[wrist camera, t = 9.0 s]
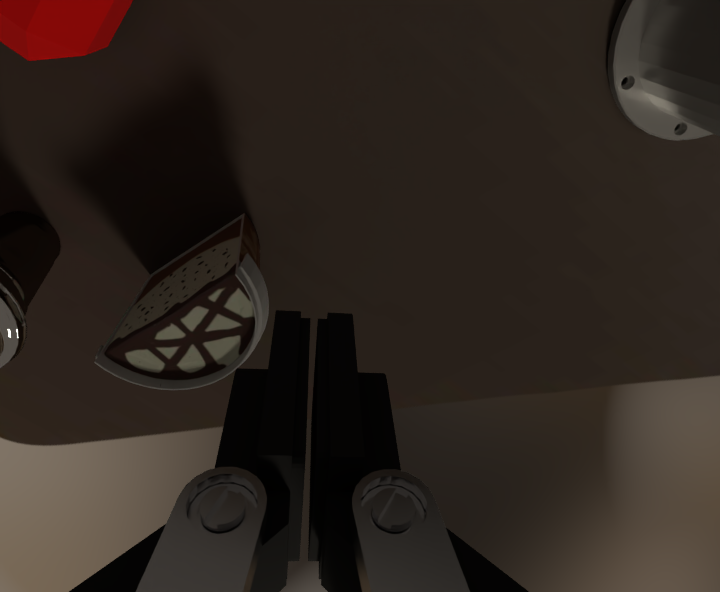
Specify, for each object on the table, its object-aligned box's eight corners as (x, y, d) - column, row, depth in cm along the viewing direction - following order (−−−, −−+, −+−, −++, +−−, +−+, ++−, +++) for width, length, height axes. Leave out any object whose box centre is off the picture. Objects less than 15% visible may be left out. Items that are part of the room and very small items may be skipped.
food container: (189, 335, 44) (158, 423, 36) (135, 283, 41) (87, 366, 33) (309, 263, 41) (306, 340, 33) (260, 202, 38) (243, 269, 30)
